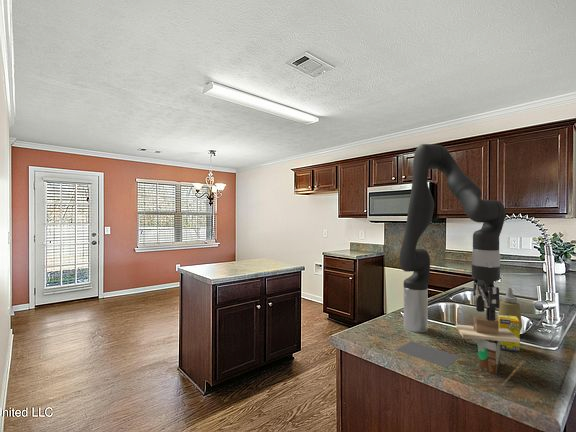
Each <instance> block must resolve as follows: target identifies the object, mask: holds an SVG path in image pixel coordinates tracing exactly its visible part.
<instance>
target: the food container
mask: <svg viewBox="0 0 576 432" xmlns="http://www.w3.org/2000/svg"><path fill="white" fill-rule="evenodd" d="M474 342H475V343H476V344H477V352H478V366H479V367H480V368H481V370H483V371H485V372H487V373H489V374H492V375H496V376H497V374H498V370H499V367H500V364H501V349H500V341H493V340H482V339H474Z"/></svg>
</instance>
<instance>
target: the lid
mask: <svg viewBox="0 0 576 432" xmlns="http://www.w3.org/2000/svg"><path fill="white" fill-rule="evenodd" d="M455 329H456V330H457V331H458V333H459V335H460V336H461V337H462V338H463V339H474V340H475V339H482V340H493V341H505V342H516V343H520V344H521V339H519V338H518V337H517V336H515V335H514V334H513V333H512V332H511V331H510V330H508V329H507V328H499V321H498V320H497V318H495V321H489V320H487V319H486V316H473V325H467V324H455Z"/></svg>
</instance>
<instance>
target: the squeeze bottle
mask: <svg viewBox="0 0 576 432" xmlns="http://www.w3.org/2000/svg"><path fill="white" fill-rule="evenodd" d="M499 306H500V307H499V308H498V314H500V315H507V316H516V317H517V318H518V320H519V322H520V331H522V327H523V323H522V314H521V306H520V304H519V302H518V299H517V297H516V296H514V293H513V289H512V288H511V287H507V291H506V294H505V295H502V300H501V301H499Z"/></svg>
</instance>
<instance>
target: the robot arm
mask: <svg viewBox="0 0 576 432" xmlns="http://www.w3.org/2000/svg"><path fill="white" fill-rule="evenodd" d="M412 161H413V162H412V163H413V164H412V181H411V191H410V198H409V204H408V208H407V215H406V216H407V218H406V226H405V231H404V236H403V239H402V244H401V247H400V252H399V258H398V259H399V260H398V261H399V262H398V263H399V267H400V268H401V270H402V271H404V272H406V273H407V272H409V273H412V272H413V273H412V274H411V275H410V276H409V277H407V278H405V279H404V281H403V328H404V329H405V330H407V331H409V332H413V333H427V332H428V331H429V329H428V326H429V325H428V323H429V319H428V317H429V316H428V312H429V311H428V310H429V308H428V305H429V304H428V303H429V301H428V300H429V299H428V296H429V295H428V292H429V291H428V290H429V289H428V285H429V283H430V274H431V273H430V272H431V258H430V255H429V252H428V251H427V250H426V249H424V248H417V246H418V245H417V244H418V241H419V239H420V238H421V236H422V235H423V234H424V233H425V231H426V230H427V228H428V227H429V226H430V224H431V222H432V220H433V215H434V209H435V200H434V198H433V195H432V192H431V190H430V188H429V182H428V176H429V170H438V171H439V172H441V173H442V174H443V175H444V176H445V178H446V185H447V188H448V189H449V191H450V192H451V193H452V195H453V196H454V197H455V198H456V199H457V200H458V201H459V202H460V204H461V206H462V208H463V211H464V213H465V215H466V216H467V218H469V219H470V220H471V221H472V222H475V223H478V224H479V223H480V224H481V223H482V227H481V228H479V229H478V230H475V231H474V232H473V233H472V253H471V278H472V279H473V293H472V294H473V296H474V298H475V300H476V301H475V306H476V307H475V310H476V311H477V312H479V313H480V312H481V313H483V312H485V310H486V312H485V314H486V315H485V317H486V319H487V320H489V321H495V319H496V309H499V307H500V288H499V287H497V286H495V282H498V281H500V280H501V254H500V236H501V233H502V230H503V227H504V223H505V220H506V208H505V205H504V204H503V203H502V202H501V201H500V200H497V199H483V198H482V195H483V192H482V188H480V187H479V186H478V185H477V184H476V182H474V181H473V180H472V179H470V178H469V176H467V175H466V174H465V172H464V171H463V170H462V169H461V167H460V166H459V164H458V163H457V161H456V160H455V159H454V157H453V156H452V154H451V153H450V152H449V150H448V149H447V148H446V147H445V146H443V145H441V144H429V143H422V144H420V145H418V146H417V147H416V149H415V151H414V156H413V160H412ZM485 307H486V308H485Z"/></svg>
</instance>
